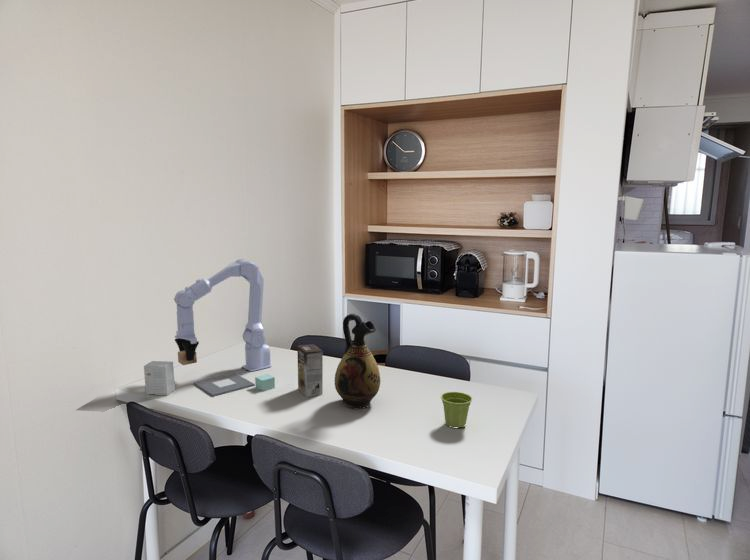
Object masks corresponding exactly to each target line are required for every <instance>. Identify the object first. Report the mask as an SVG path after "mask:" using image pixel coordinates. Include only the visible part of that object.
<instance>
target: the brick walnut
mask: <svg viewBox="0 0 750 560" xmlns="http://www.w3.org/2000/svg"><path fill="white" fill-rule="evenodd" d="M177 361H178V363H179V364H180V365H182V366H186V365H191V364H196V363H197V362H198V360H197V351H195V355H194V360H190V361H188V360H187V358H186V352H185V350H184V351H180V350H179V351H177ZM197 364H198V363H197Z"/></svg>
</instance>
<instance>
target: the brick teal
mask: <svg viewBox="0 0 750 560" xmlns="http://www.w3.org/2000/svg"><path fill="white" fill-rule="evenodd" d="M254 380H255V381H254V382H255V383H254V384H255V386H254V387H255V388H256V389H259V390H260V391H262V392H264V391H267V390H271V389H275V388H276V386H275V385H276V384H275V382H276V381H275V380H276V379H275V376H272V375H270V374H269V373H266V374H262V375H257V376H255V377H254Z"/></svg>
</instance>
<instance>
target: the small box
mask: <svg viewBox="0 0 750 560" xmlns="http://www.w3.org/2000/svg"><path fill="white" fill-rule="evenodd" d="M143 373H144V383H145V385H144V386H145V387H144V389H145V394H146V395H148V394H155V396H168V395H170V394H171V393H173V391H174V390H176V387H175V386H176V385H175V384H176V383H175V370H174V362H173V361H163V360H162V361H160V360H159V361H157V360H152V361H150V362H148V363H147V364H145V365H143Z"/></svg>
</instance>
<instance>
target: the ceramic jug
mask: <svg viewBox="0 0 750 560" xmlns="http://www.w3.org/2000/svg"><path fill="white" fill-rule="evenodd" d="M343 318H344V319H343V321H342V329H343V330H342V331H343V336H344V340H345V345H346V347H345V349H344V353H343V356H342V357H341V359H340V361H339V363H338V365H337V367H336V371H335V375H334V388H335V391H336V392H337V394H338V396H340V398H341V399H342V403H343V404H344V406H345V407H348V408H351V409H353V408H357V409H364V408H363V407H365V408H368V407H367V406H370V405H371V402H372V400H373V399H374V398H375V397H376V395H377V394H378V392H379V390H380V388H381V387H380V386H381V374H380V370H379V365H378V363H377V361H376V359H375V357H374V355H373V354H372V352H371V350H370V349H369V348H368V346H367V343H365V342H366V341H365V337H366V336H368V335H370V334H374V333H376V331H377V328H376V327H375V325H374V323H373V321H371V320H368V321H366V322H365V321H363V320H362V318H361V317H360V315H358V314H355V313H350V314H348V315H346V316H345V317H343ZM350 321H354V322H355V325H354V327H353V328H352V329H351V331H350ZM351 334H353V335H354V337H353V340H352V336H351Z"/></svg>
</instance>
